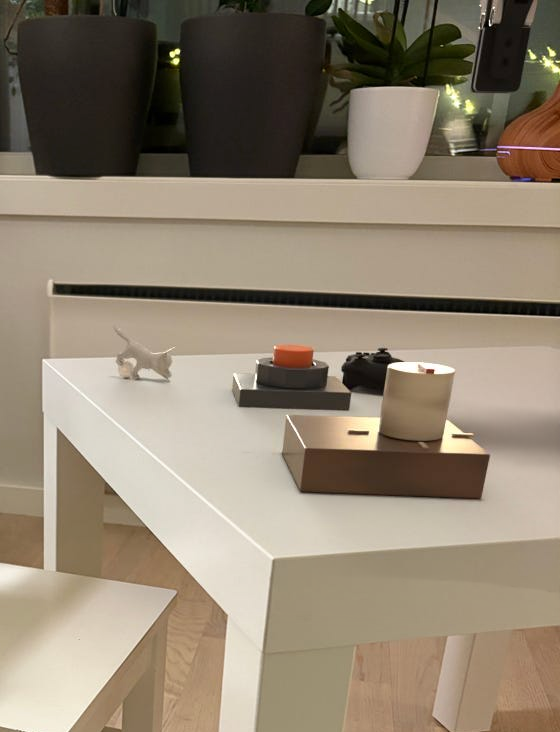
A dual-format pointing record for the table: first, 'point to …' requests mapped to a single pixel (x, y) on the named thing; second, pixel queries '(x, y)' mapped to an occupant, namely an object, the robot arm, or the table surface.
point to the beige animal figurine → (141, 359)
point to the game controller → (367, 369)
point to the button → (293, 355)
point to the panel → (380, 459)
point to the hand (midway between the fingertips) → (493, 91)
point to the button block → (290, 387)
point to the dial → (416, 401)
